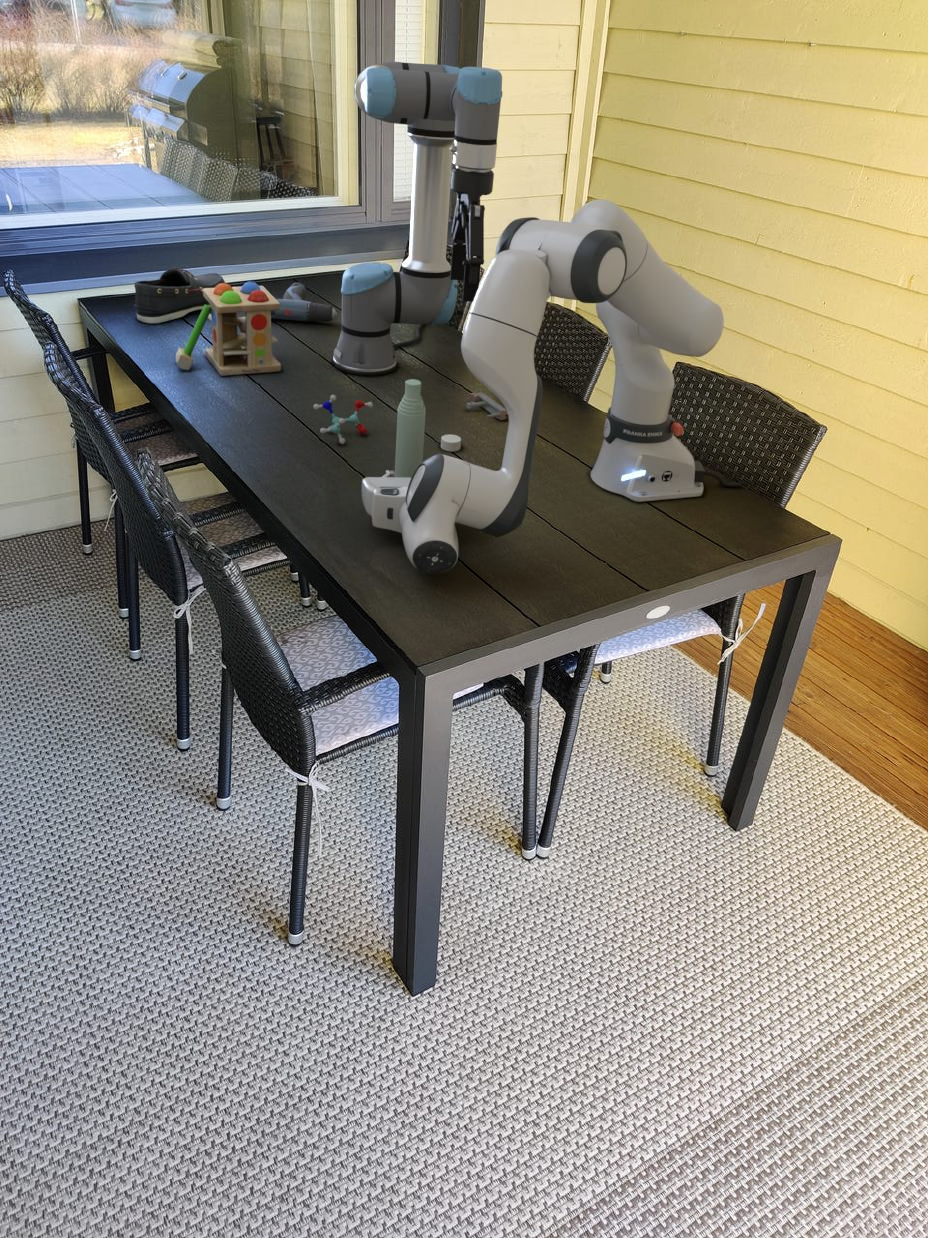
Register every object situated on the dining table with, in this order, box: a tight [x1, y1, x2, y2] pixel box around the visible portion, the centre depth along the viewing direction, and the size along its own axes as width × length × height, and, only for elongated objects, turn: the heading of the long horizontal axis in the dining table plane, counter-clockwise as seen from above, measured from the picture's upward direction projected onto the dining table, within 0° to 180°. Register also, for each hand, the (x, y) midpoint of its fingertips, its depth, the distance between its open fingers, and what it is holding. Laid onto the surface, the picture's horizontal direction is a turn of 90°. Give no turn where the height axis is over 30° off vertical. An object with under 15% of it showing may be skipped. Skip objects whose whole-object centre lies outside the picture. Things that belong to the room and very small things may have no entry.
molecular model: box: [312, 394, 374, 445], centre depth 201 cm, size 12×10×10 cm
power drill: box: [271, 282, 338, 322], centre depth 265 cm, size 5×19×20 cm
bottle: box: [394, 378, 427, 478], centre depth 184 cm, size 5×5×19 cm
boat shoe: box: [133, 267, 226, 324], centre depth 260 cm, size 13×33×10 cm, turn 147°
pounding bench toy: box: [174, 281, 282, 377], centre depth 225 cm, size 23×14×18 cm, turn 116°
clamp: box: [466, 391, 508, 421], centre depth 219 cm, size 15×2×10 cm
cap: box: [440, 434, 462, 452], centre depth 202 cm, size 4×4×2 cm
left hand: (463, 289), depth 185 cm, fingers open, 13 cm apart
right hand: (415, 473), depth 177 cm, fingers open, 8 cm apart
